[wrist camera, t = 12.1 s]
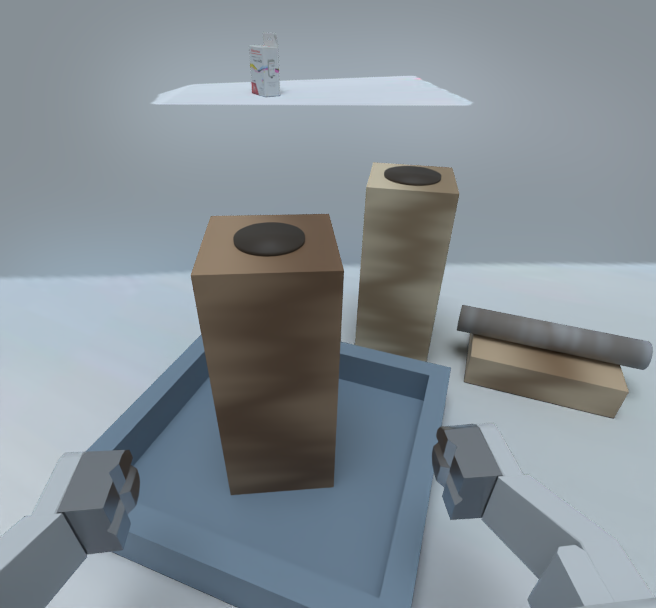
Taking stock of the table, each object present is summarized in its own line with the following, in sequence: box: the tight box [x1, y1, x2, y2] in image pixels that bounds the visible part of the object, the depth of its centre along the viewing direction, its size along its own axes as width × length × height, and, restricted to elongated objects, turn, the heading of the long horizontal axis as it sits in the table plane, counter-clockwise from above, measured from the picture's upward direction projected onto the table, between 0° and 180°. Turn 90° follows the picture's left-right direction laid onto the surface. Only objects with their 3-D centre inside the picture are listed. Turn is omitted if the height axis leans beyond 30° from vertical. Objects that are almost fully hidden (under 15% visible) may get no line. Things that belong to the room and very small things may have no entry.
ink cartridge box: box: [249, 32, 280, 97], centre depth 116 cm, size 9×5×15 cm, turn 34°
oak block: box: [355, 163, 459, 362], centre depth 26 cm, size 4×4×11 cm
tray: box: [86, 335, 451, 608], centre depth 20 cm, size 14×13×2 cm
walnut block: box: [191, 214, 344, 495], centre depth 17 cm, size 4×4×11 cm
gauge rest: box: [457, 305, 653, 418], centre depth 25 cm, size 10×5×4 cm, turn 70°
